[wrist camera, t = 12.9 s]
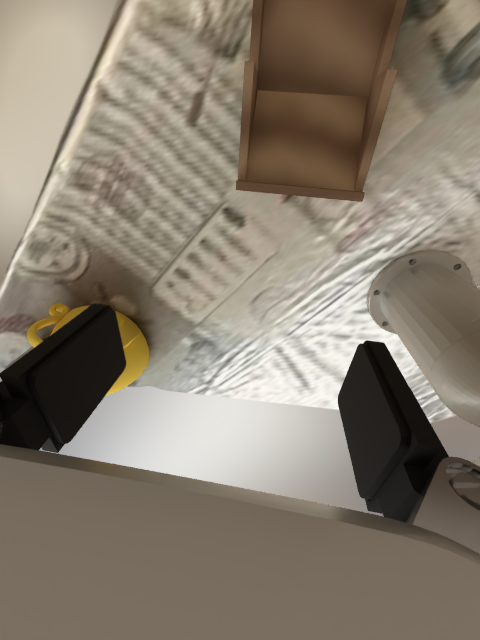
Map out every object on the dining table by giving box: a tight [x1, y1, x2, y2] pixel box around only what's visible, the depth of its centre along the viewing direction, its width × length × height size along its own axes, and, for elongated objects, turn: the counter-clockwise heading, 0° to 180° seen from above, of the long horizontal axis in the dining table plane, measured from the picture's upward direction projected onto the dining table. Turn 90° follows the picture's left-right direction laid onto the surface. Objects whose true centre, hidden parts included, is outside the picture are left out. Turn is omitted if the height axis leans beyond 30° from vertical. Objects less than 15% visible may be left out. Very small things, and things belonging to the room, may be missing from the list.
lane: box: [236, 0, 407, 202], centre depth 22 cm, size 27×13×7 cm, turn 176°
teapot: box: [27, 303, 149, 396], centre depth 43 cm, size 20×19×13 cm
